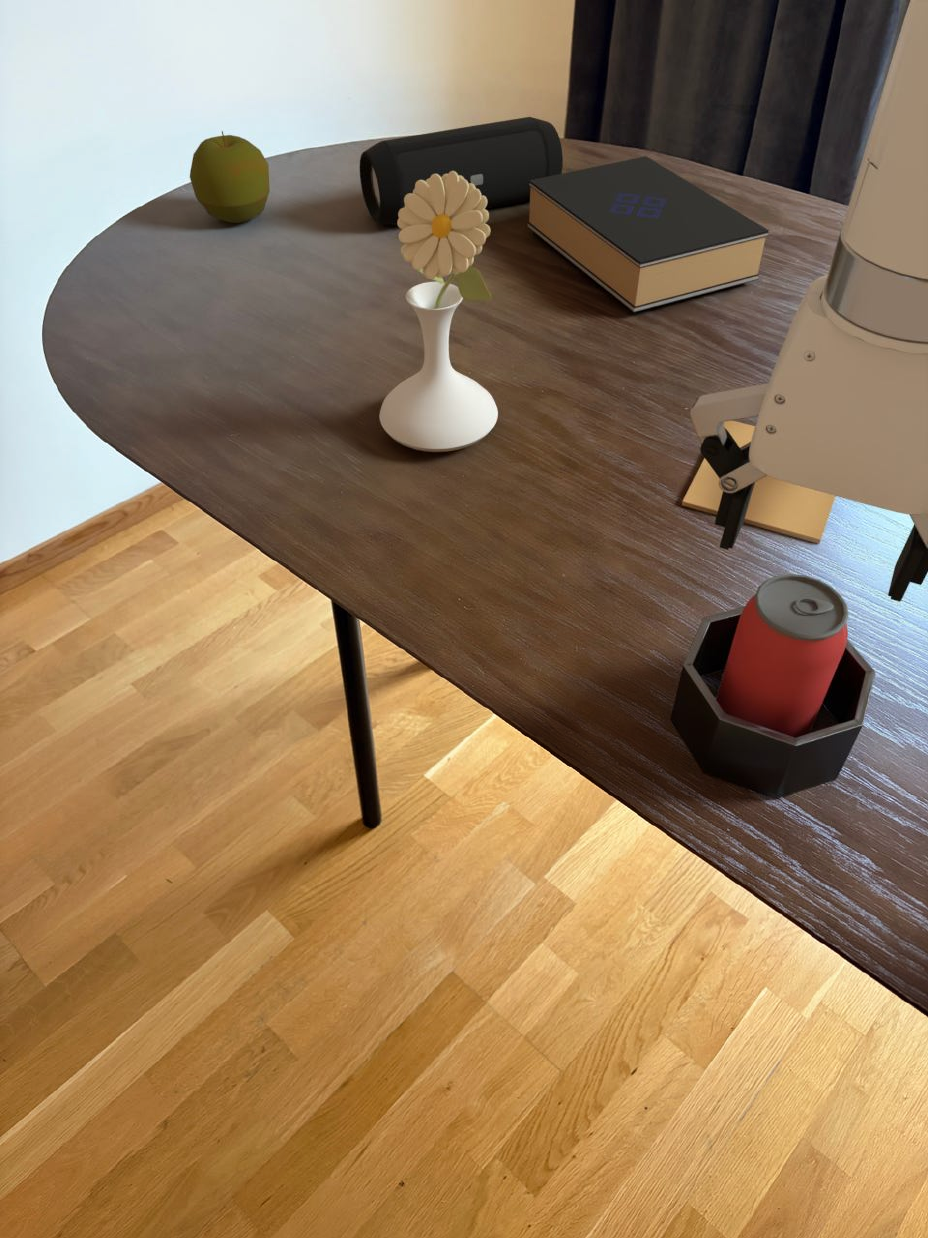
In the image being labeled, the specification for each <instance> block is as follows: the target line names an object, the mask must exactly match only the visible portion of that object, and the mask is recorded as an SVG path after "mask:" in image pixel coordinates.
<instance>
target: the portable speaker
mask: <svg viewBox="0 0 928 1238" xmlns="http://www.w3.org/2000/svg"><path fill="white" fill-rule="evenodd" d="M563 158H564V157H563V148H562V142H561V138H560V136H559V133H558V131H557V129H556V128H555V126H554V125H553V124H552V123H551V122H549V121H547V120H543V119H540V118H537V117H532V116H525V117H520V118H519V117H518V118H513V119H507V120H500V121H494V122H489V123H482V124H476V125H475V124H474V125H470V126H465V127H464V126H463V127H456V128H452V129H446V130H439V131H433V132H427V133H421V134H416V135H408V136H402V137H398V138H392V139H386V140H381V141H379V142H376V143H375V144H374V145H372V146H370V147H369V148H367V149H365V150H364V151H362V153H361V154H360V158H359V181H360V187H361V192H362V197H363V201H364V203H365V207H366V209H367V211H368V214H369V215H370V217H371V218H372V220H374V221H375V222H378V223H383V224H389V225H393V226H398V224H397V221H398V219H399V216H398V213H399V211H400V209H401V208H404V207H405V203H404V198H405V196H406V195H407V194H409V193H412V194H413V190H414V189H415V184H416V182H417V181H418V180H423V181H426V180H427V179H429V178H430V177H431V176H432V175H433V174H438V175H439V176H440V177H442V176H443V175H444V174H449V172H451V171H455V172H456V173H457V174H458V176H459V175H461V176H463V177H464V179H465V180H467V182H468V184H469V183H472V184H474V185H475V187H476V189H479V190H480V192H481V196H485V197H486V198H487V206H486V208H485V210H488V209H493V208H498V207H499V208H500V207H503V206H508V205H514V204H520V203H525V202H528V201H529V202H530V190H531V187H530V186H529V182H530V181H529V180H534V179H539V178H544V177H548V176H553V175H558V174H563V167H564V166H563V165H564V159H563Z"/></svg>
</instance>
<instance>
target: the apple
mask: <svg viewBox="0 0 928 1238" xmlns="http://www.w3.org/2000/svg"><path fill="white" fill-rule="evenodd" d="M221 134H222V135H217V136H212V137H209V138H206V139H204V140H203V141H201V142H200V144H199V146H198V147H197V148H196V150H195V151H194V153H193V155H192V160H191V166H190V171H189V180H190V183H191V186H192V190H193V193H194V196H195V199H196V200H197V201H198V203H200V205H201V206H202V207H203V208H204V210H205V211H206V212H207V214H208V215H209V216H211V217H212V218H215V219H218V220H220V221H223V222H226V223H231V224H243V223H246V222H249V221H251V220H253V219H254V218H257V217H259V216H261V214H262V213H263V212H264V210H265V207H266V204H267V201H268V198H269V194H270V191H271V190H270V165H269V163H268V161H267V160H266V158H265V156H264V154H263V153H262V151H261V149H260V148H258V147H257V146H256V145H254V144H253V143H251V142H250V141H249V140H247V139H246V138H243V137H241V136H238V135H233V134H227V135H226V134H224V131H223V130H221Z"/></svg>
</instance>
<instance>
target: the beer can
mask: <svg viewBox="0 0 928 1238" xmlns="http://www.w3.org/2000/svg"><path fill="white" fill-rule="evenodd" d="M743 607H744V606H743ZM849 616H850V615H849V608H848V604H847V603H846V601H845V600H844V598H843V596H842V594H840V593H839V592H838V591H837V590H836V589H834V587H832V586H831V585H829V584H827V583H825V581H822V580H821V579H818V578H815V577H812V576H809V575H805V574H796V573H788V574H780V575H775V576H773V577H770V578H768V579H766V580H765V581H763V582H762V583H761V584H760V585H759V586H758V588H757V590H756V592H755V594H754V595H753V596H752V597H751V598H750V599H749V600H748V601H747V603H746V604H745V607H744V609H743V611H742V614H741V616H740V618H739V622H738V625H737V629H736V632H735V636H734V639H733V642H732V646H731V649H730V653H729V656H728V660H727V663H726V666H725V670H723V674H722V677H721V679H720V684H719V687H718V691H717V694H716V697H715V699H716V700H717V702H718V703H719V705H720V706H721V708H722V709H723V711H724V712H725V713H726V714H728V715H730V716H733V717H736V718H739V719H742V720H745V721H748V722H751V723H754V724H756V725H759V726H762V727H765V728H768V729H771V730H774V731H777V732H780V733H782V734H785V735H788V736H791V737H794V738H796V737H799V736H802V735H805V734H809V733H811V731H812V728H813V726H814V723H815V720H816V718H817V716H818V714H819V712H820V709H821V706H822V705H823V704H822V702H823V700H824V697H825V695H826V693H827V690H828V688H829V686H830V683H831V681H832V678H833V676H834V674H835V671H836V669H837V667H838V664H839V662H840V660H841V657H842V655H843V653H844V650H845V647H846V643H847V639H848V638H849V637H848V635H849V633H848V625H847V622H848V619H849Z"/></svg>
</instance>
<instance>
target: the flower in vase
mask: <svg viewBox="0 0 928 1238" xmlns="http://www.w3.org/2000/svg"><path fill="white" fill-rule="evenodd" d="M404 203H405V207H404V208H401V209H400V211H399V213H398V216H399V219H398V221H397V224H398V225H397V227H398V228H399V229H401V230H400V232H399V233H398V240H399V242H401V243H402V244H403V245H402V246H401V248H400V254H401V255H402V256H403V260H404V261H405V262H407V263H411V265H412V269H413V270H414V271H418V272H419V273H420V274H422V275H424V276H425V278H427V279H428V280H433V281H427V282H423V283H419V284H416V285H414V286H412V287H411V288H410V289H408V290H407V292H406V294H405V300H406V302H407V303H408V304H409V306H410V307H411V308H412V309H413V310H414V312H415V313H416V316H417V318H418V320H419V325H420V328H421V333H422V339H423V349H424V350H423V351H424V353H423V354H424V357H423V365H422V367H421V369H420V370H419V371H418V372H416V373H415V374H413V375H411V376H409V377H408V378H406V379H405V380H403V381H401V382H400V383H399V384H398V385H396V386H395V387H394V388H393V389H392V390H391V391H390V392H389V393H388V394H387V395H386V396H385V398H384V399H383V402H382V404H381V407H380V410H379V418H378V419H379V422H380V425H381V427H382V428H383V430H384V431H385V432H386V434H388V436H389V437H390V438H391V439H392V440H394V441H395V442H397V443H398V444H401V445H402V446H404V447H407V448H410V449H413V450H416V451H422V452H430V453H431V452H432V453H442V452H443V453H445V452H452V451H458V450H461V449H465V448H468V447H470V446H473V445H475V444H476V443H478V442H480V441H481V440H483V439H484V438H485V437H486V436H487V435H488V434H489V433H490V431H492V429H493V428H494V427H495V425H496V423H497V421H498V418H499V417H498V416H499V411H498V407H497V405H496V402H495V399H494V398H493V396H492V394H491V393H490V392H489V391H488V390H487V389H486V388H484V387H483V385H481V384H479V382H477V381H475V380H474V379H472V378H470V377H468V376H466V375H465V374H462V373H460V372H458V371H456V370H455V369H454V368H453V366H452V364H451V360H450V350H449V349H450V348H449V347H450V346H449V343H450V341H449V339H450V329H451V324H452V320H453V316H454V314H455V312H456V309H457V308H458V307H459V305H460V304H461V303H462V302H463V299H464V300H466V301H470V302H489V301H493V296H492V294H491V291H490V290H489V288H488V287H487V284H486V282H485V280H484V277H483V276H482V274H481V272H480V271H479V269H478V268H476V267H474V266H472V265H473V264H474V261H475V258H474V257H475V256H478V255H480V254H481V253H482V252H483V251H482V250H483V246H484V245H485V243H486V240H487V238H488V237H490V235H491V227H490V225H488V224H487V222H488V221H489V219H490V213H489V211H488V209H485V208H486V206H487V198H486V197H485V196H481V192H480V190H479V189H476V187H475V185H474V184H472V183H469V184H468V182H467V180H465V179H464V177H463V176H461V175H459V176H458V174H457V173H456V172H455V171H451V172H449V174H444V175H443V176H442V177H440V176H439V175H438V174H433V175H432V176H431V177H430V178H429V179H427V180H426V181H423V180H418V181H417V182H416V184H415V189H414V190H413V194H412V193H409V194H407V195H406V196H405V198H404ZM448 276H449V277H448ZM444 277H448V278H447V280H446V281H445V282H444V279H443V278H444ZM454 279H455V282H456V285H455V284H452V282H453V280H454Z"/></svg>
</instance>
